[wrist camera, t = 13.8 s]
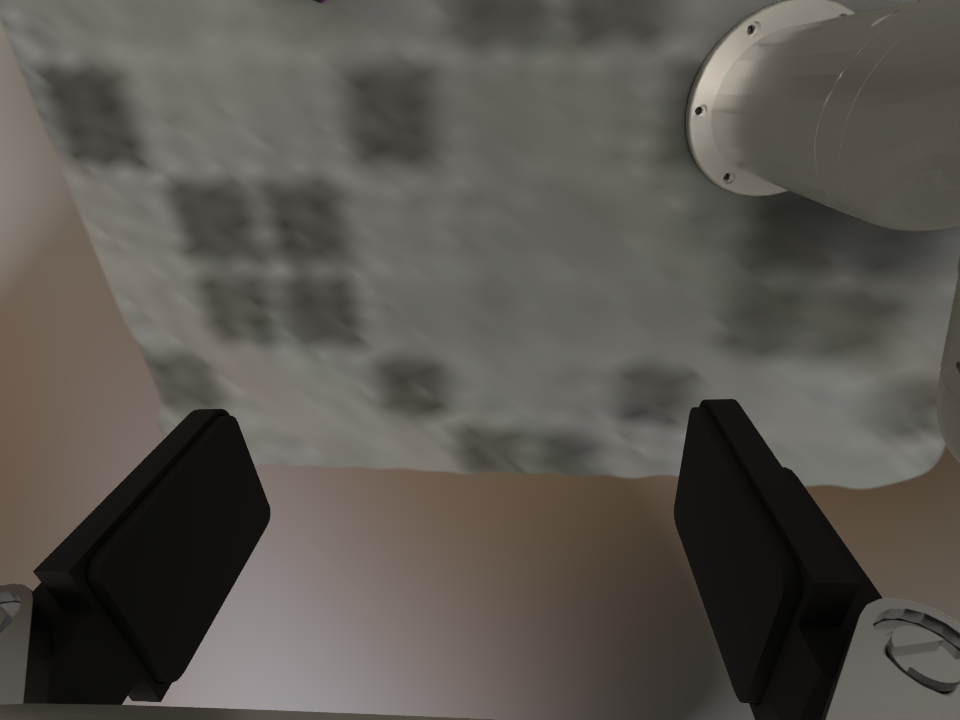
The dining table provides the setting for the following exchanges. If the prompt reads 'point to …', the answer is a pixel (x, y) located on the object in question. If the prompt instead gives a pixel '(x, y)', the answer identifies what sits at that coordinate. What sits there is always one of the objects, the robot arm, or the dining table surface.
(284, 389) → the dining table surface
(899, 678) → the robot arm
